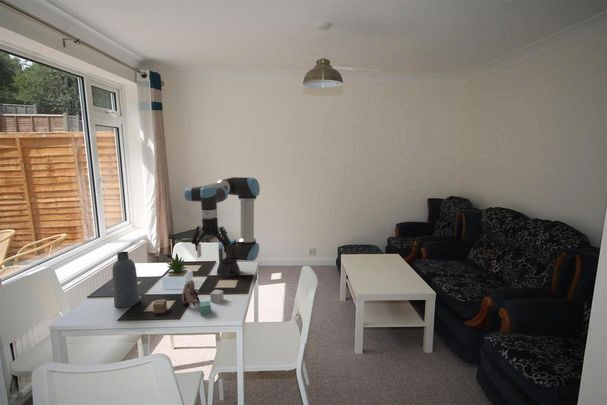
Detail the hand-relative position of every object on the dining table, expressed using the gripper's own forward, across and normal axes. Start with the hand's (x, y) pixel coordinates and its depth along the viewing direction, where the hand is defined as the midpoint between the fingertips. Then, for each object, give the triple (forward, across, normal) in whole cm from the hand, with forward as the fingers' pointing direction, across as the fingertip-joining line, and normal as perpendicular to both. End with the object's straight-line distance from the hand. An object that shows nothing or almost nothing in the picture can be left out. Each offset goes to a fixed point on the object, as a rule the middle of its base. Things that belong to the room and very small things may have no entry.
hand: (211, 257), depth 168 cm
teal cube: (+28, -2, -7) cm, 28 cm away
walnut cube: (+27, -26, -8) cm, 39 cm away
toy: (+28, -14, +2) cm, 31 cm away
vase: (+28, -49, -3) cm, 56 cm away
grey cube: (+28, -2, +7) cm, 29 cm away
